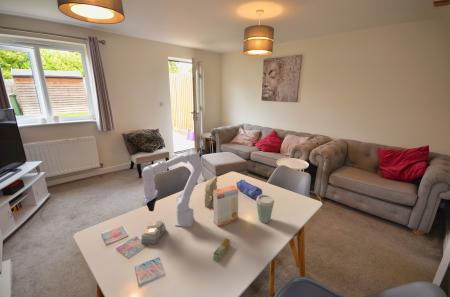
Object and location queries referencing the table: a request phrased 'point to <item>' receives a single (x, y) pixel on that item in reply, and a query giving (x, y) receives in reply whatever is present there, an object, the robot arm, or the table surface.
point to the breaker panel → (153, 238)
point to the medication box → (221, 249)
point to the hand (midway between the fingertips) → (151, 210)
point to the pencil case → (249, 189)
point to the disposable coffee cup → (264, 207)
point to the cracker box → (225, 205)
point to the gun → (210, 190)
